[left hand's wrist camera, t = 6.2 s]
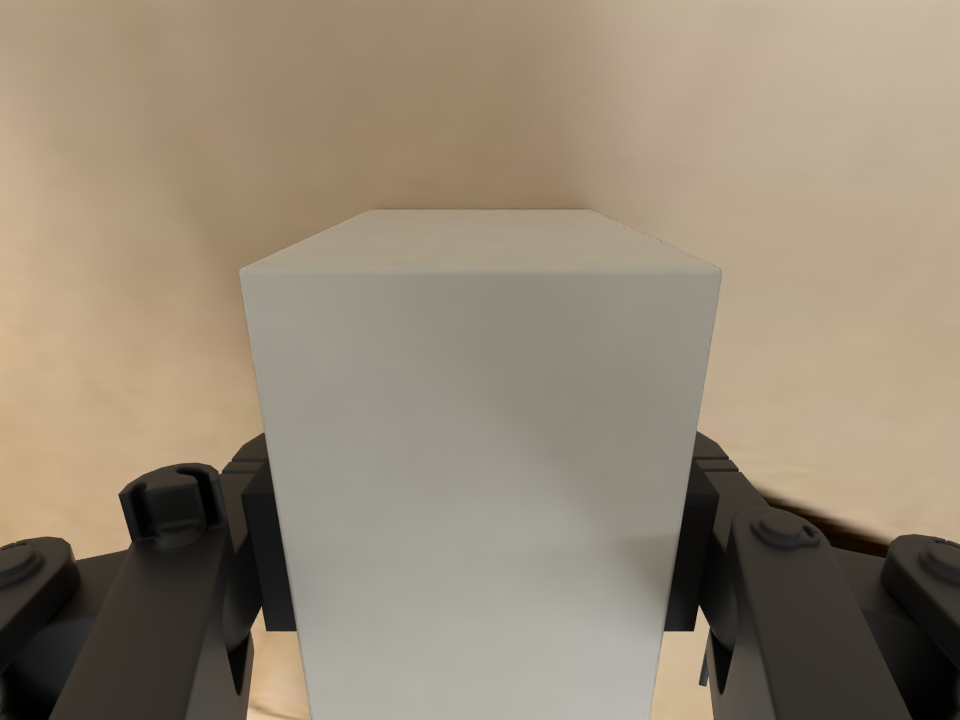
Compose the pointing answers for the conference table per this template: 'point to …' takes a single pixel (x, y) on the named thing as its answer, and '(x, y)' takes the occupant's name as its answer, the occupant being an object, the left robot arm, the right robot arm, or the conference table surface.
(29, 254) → the conference table surface
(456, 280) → the post
